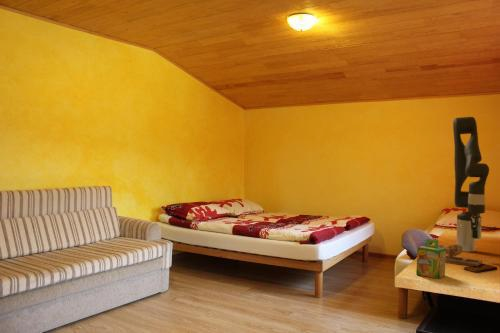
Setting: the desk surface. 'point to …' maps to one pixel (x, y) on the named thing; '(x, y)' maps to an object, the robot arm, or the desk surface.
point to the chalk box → (431, 260)
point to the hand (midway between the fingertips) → (475, 237)
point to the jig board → (463, 261)
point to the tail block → (478, 233)
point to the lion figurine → (452, 250)
